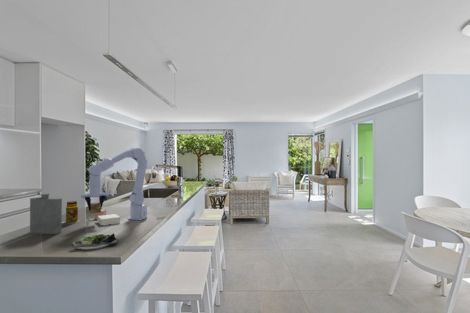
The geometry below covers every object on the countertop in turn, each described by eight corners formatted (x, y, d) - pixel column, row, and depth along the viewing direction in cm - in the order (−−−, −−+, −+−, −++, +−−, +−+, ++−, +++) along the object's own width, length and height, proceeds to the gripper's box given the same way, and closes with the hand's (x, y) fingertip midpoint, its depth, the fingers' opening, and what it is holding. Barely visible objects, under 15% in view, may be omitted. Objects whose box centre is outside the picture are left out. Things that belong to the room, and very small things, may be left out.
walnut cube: (98, 210, 166) (98, 202, 166) (100, 212, 162) (100, 203, 162) (89, 211, 163) (89, 203, 163) (91, 213, 159) (91, 204, 159)
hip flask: (62, 232, 146) (63, 193, 146) (57, 234, 142) (57, 194, 142) (33, 231, 147) (33, 192, 147) (27, 233, 143) (27, 193, 143)
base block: (115, 220, 173) (115, 213, 173) (119, 223, 165) (119, 217, 165) (97, 222, 167) (97, 215, 167) (101, 226, 159) (101, 219, 159)
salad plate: (77, 256, 114) (77, 245, 114) (62, 246, 126) (62, 235, 126) (123, 245, 128) (123, 234, 128) (105, 236, 140) (105, 227, 140)
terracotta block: (105, 217, 180) (106, 209, 180) (103, 219, 175) (103, 210, 175) (97, 217, 180) (97, 209, 180) (94, 219, 175) (94, 211, 175)
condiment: (73, 223, 163) (73, 202, 163) (59, 223, 164) (59, 202, 164) (81, 220, 170) (81, 200, 170) (68, 220, 171) (68, 200, 171)
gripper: (106, 184, 170) (106, 207, 170) (79, 186, 161) (79, 209, 162) (109, 185, 165) (109, 209, 165) (81, 187, 156) (81, 212, 156)
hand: (95, 209), depth 163 cm, fingers closed on walnut cube, 5 cm apart
